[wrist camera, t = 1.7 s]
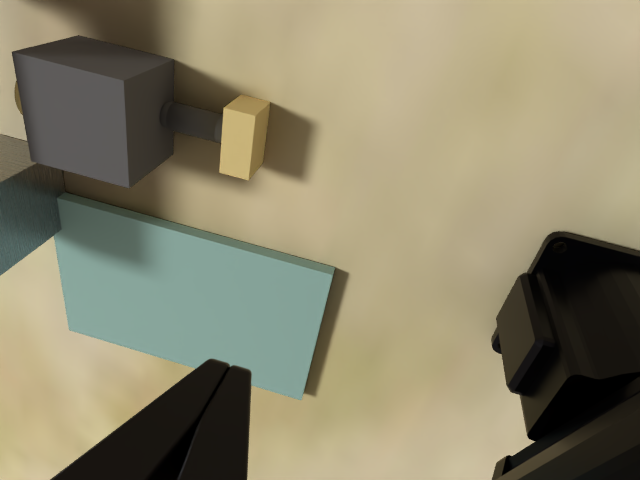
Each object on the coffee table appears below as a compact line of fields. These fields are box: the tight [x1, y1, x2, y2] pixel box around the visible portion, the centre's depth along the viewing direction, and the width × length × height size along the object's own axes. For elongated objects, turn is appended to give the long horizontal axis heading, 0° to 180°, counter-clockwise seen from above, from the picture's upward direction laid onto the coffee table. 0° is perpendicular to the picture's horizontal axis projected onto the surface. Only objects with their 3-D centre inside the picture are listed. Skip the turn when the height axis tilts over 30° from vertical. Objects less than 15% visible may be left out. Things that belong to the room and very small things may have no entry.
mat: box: [54, 192, 335, 400], centre depth 24 cm, size 14×9×1 cm, turn 80°
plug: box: [12, 35, 271, 188], centre depth 18 cm, size 9×4×4 cm, turn 80°
